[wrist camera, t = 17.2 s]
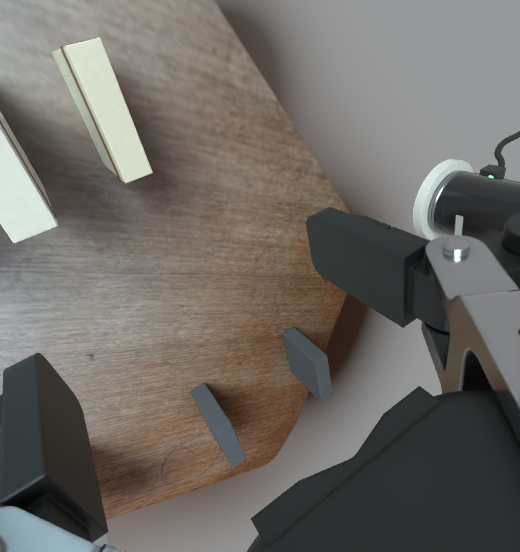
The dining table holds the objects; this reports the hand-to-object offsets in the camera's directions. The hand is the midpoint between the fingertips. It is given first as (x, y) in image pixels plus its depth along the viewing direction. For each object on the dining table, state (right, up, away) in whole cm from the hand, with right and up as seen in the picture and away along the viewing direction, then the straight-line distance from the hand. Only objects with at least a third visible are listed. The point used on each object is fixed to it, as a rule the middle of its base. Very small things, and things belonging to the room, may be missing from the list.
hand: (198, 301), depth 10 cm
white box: (-17, +10, +15) cm, 25 cm away
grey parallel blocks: (+1, -13, +40) cm, 42 cm away
